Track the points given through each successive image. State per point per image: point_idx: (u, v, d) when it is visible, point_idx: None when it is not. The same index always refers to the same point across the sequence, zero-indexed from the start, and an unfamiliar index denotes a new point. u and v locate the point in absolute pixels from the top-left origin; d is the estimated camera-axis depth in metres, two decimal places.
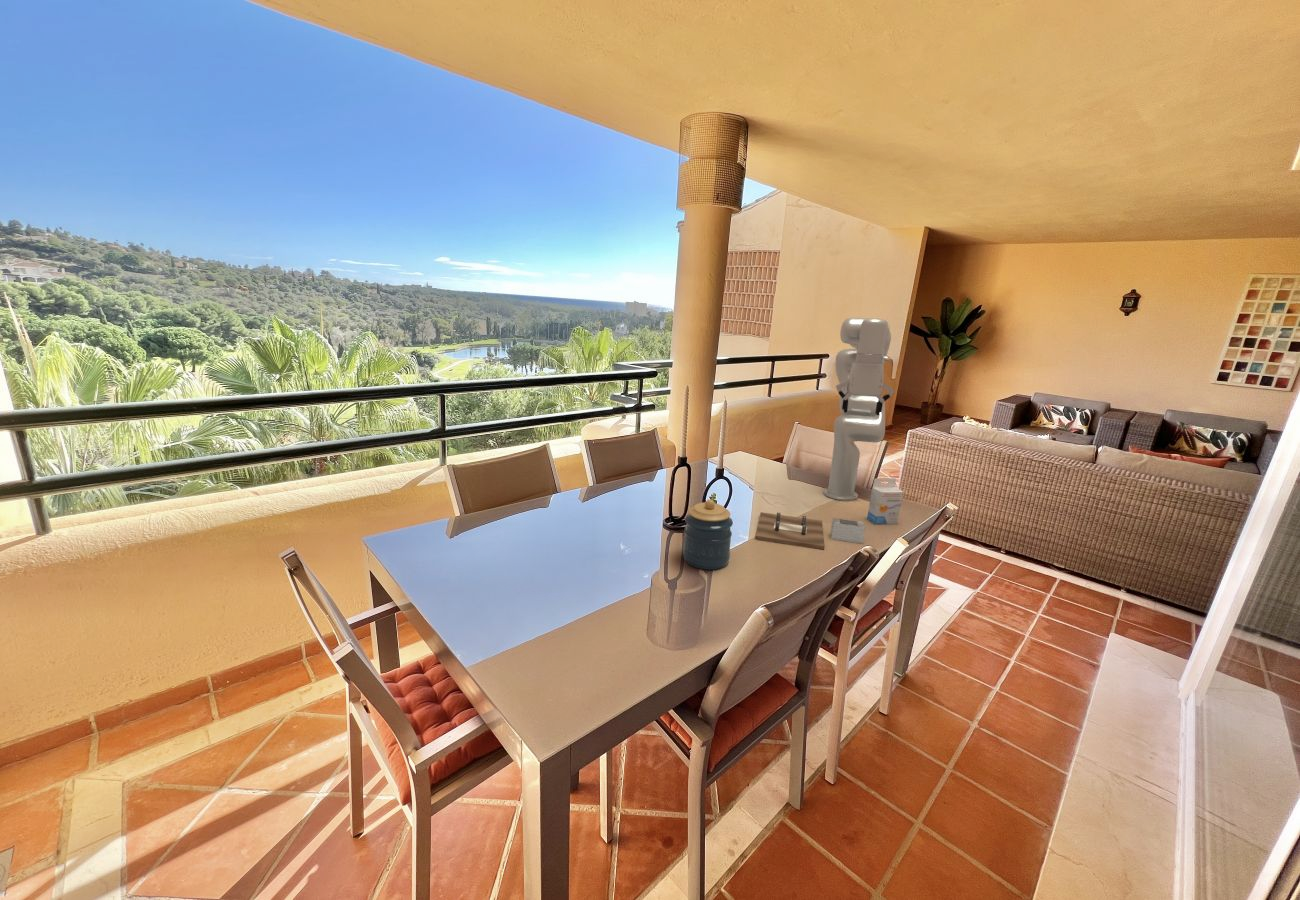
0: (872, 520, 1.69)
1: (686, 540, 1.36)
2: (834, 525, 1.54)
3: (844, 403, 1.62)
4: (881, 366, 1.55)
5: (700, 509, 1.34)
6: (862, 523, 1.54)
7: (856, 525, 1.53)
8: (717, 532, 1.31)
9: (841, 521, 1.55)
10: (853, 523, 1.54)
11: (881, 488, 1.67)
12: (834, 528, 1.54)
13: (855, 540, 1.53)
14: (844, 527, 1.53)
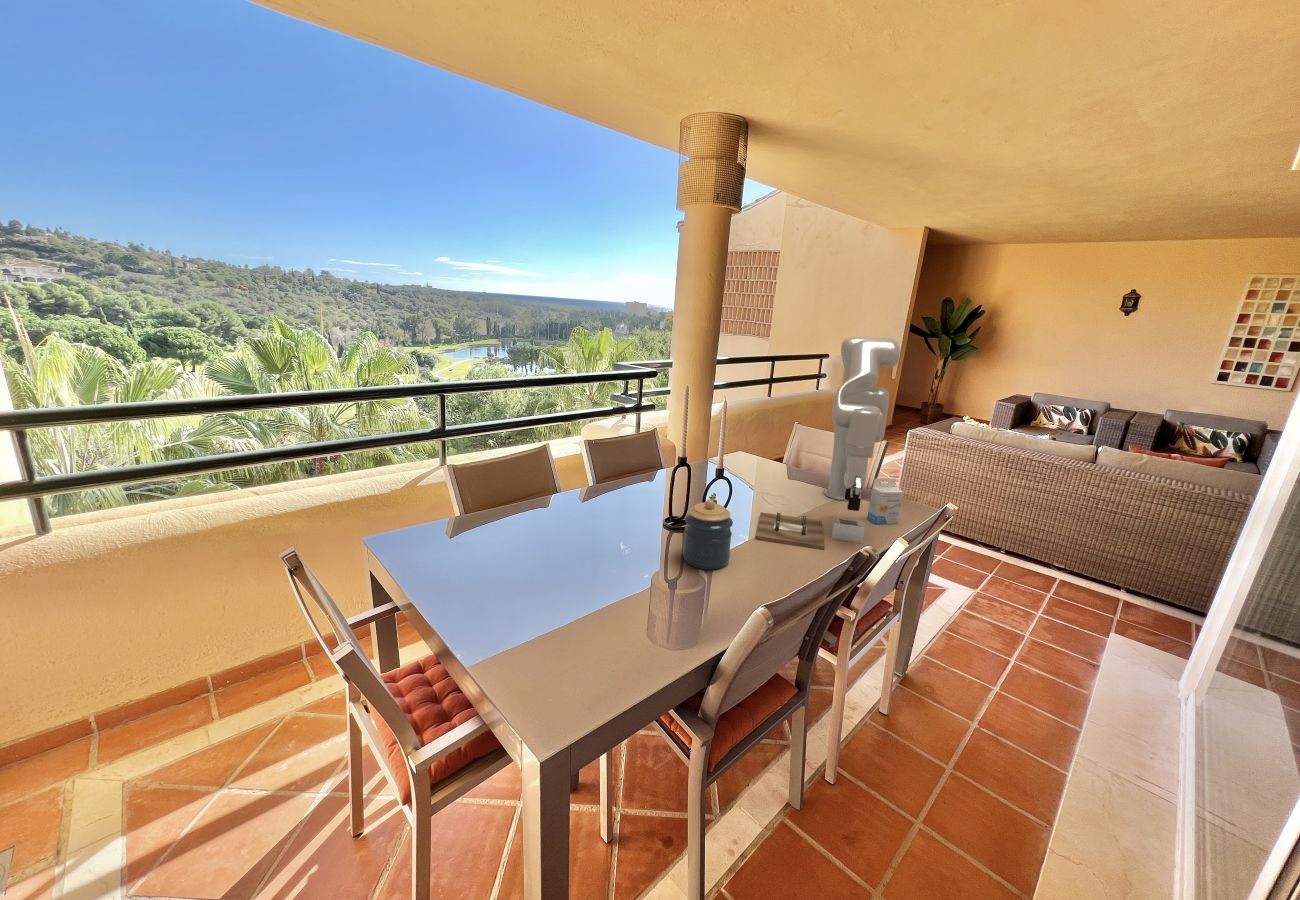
0: (872, 520, 1.69)
1: (686, 540, 1.36)
2: (834, 525, 1.54)
3: (857, 502, 1.46)
4: None
5: (700, 509, 1.34)
6: (862, 523, 1.54)
7: (856, 525, 1.53)
8: (717, 532, 1.31)
9: (841, 521, 1.55)
10: (853, 523, 1.54)
11: (881, 488, 1.67)
12: (834, 528, 1.54)
13: (855, 540, 1.53)
14: (844, 527, 1.53)
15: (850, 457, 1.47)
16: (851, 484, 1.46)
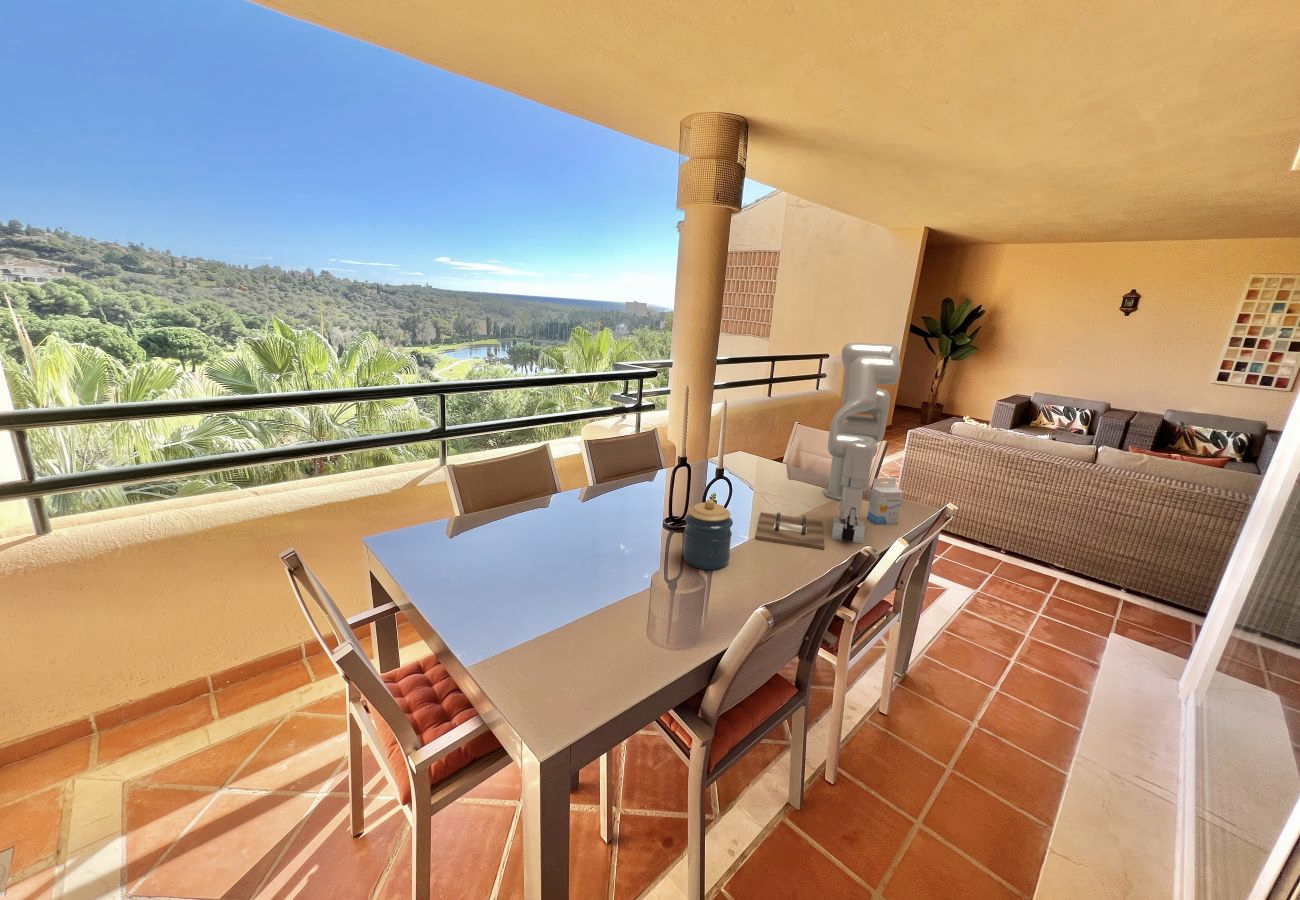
0: (872, 520, 1.69)
1: (686, 540, 1.36)
2: (834, 525, 1.54)
3: (851, 533, 1.52)
4: None
5: (700, 509, 1.34)
6: (862, 523, 1.54)
7: (856, 524, 1.52)
8: (717, 532, 1.31)
9: (841, 521, 1.55)
10: None
11: (881, 488, 1.67)
12: (834, 528, 1.54)
13: (855, 540, 1.53)
14: (844, 526, 1.53)
15: (845, 488, 1.50)
16: (846, 515, 1.49)
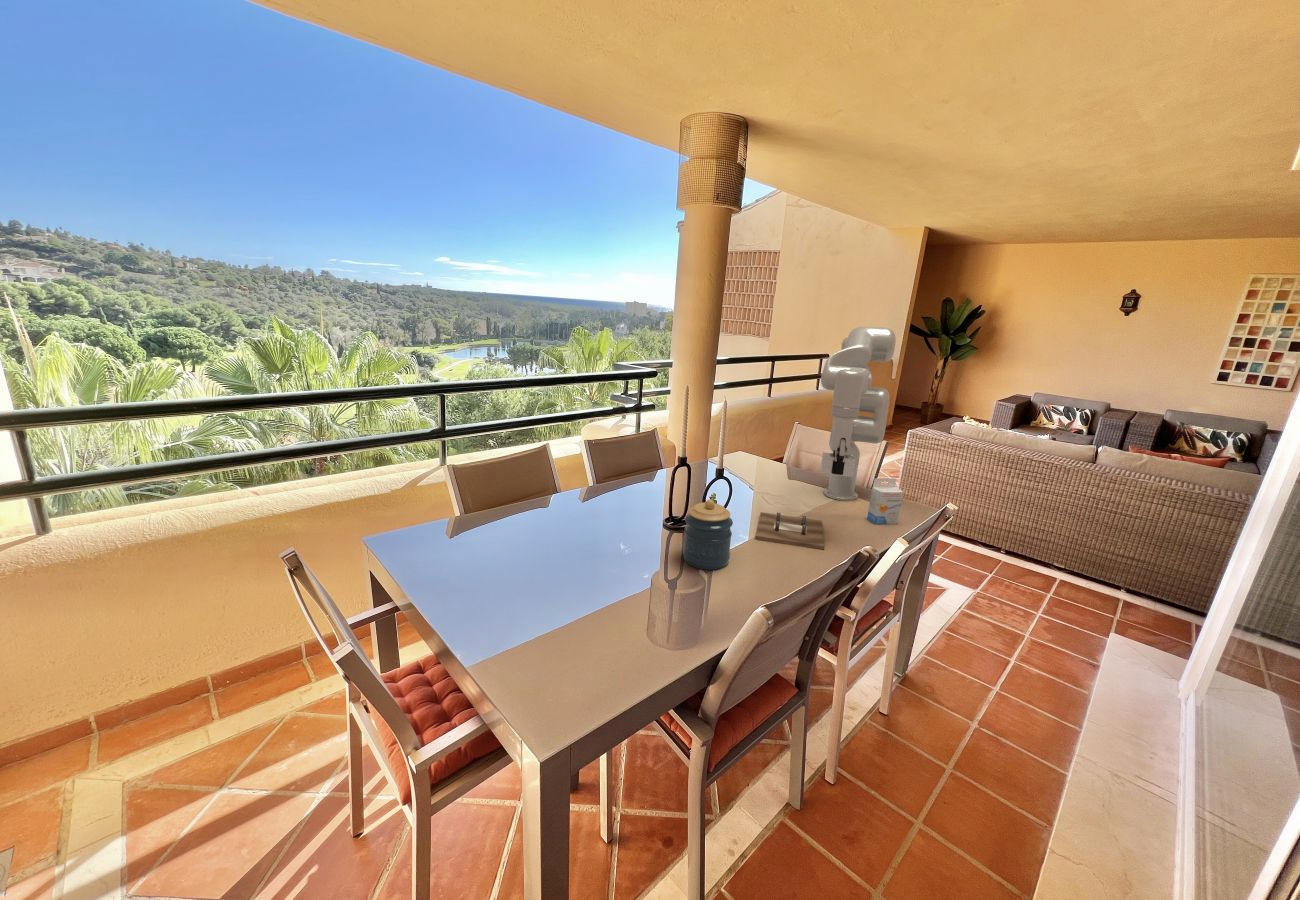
0: (872, 520, 1.69)
1: (686, 540, 1.36)
2: (824, 458, 1.49)
3: (841, 465, 1.48)
4: None
5: (700, 509, 1.34)
6: (853, 456, 1.50)
7: (846, 457, 1.48)
8: (717, 532, 1.31)
9: (831, 454, 1.50)
10: None
11: (881, 488, 1.67)
12: (824, 461, 1.49)
13: (846, 473, 1.49)
14: None
15: (835, 419, 1.45)
16: (836, 446, 1.45)
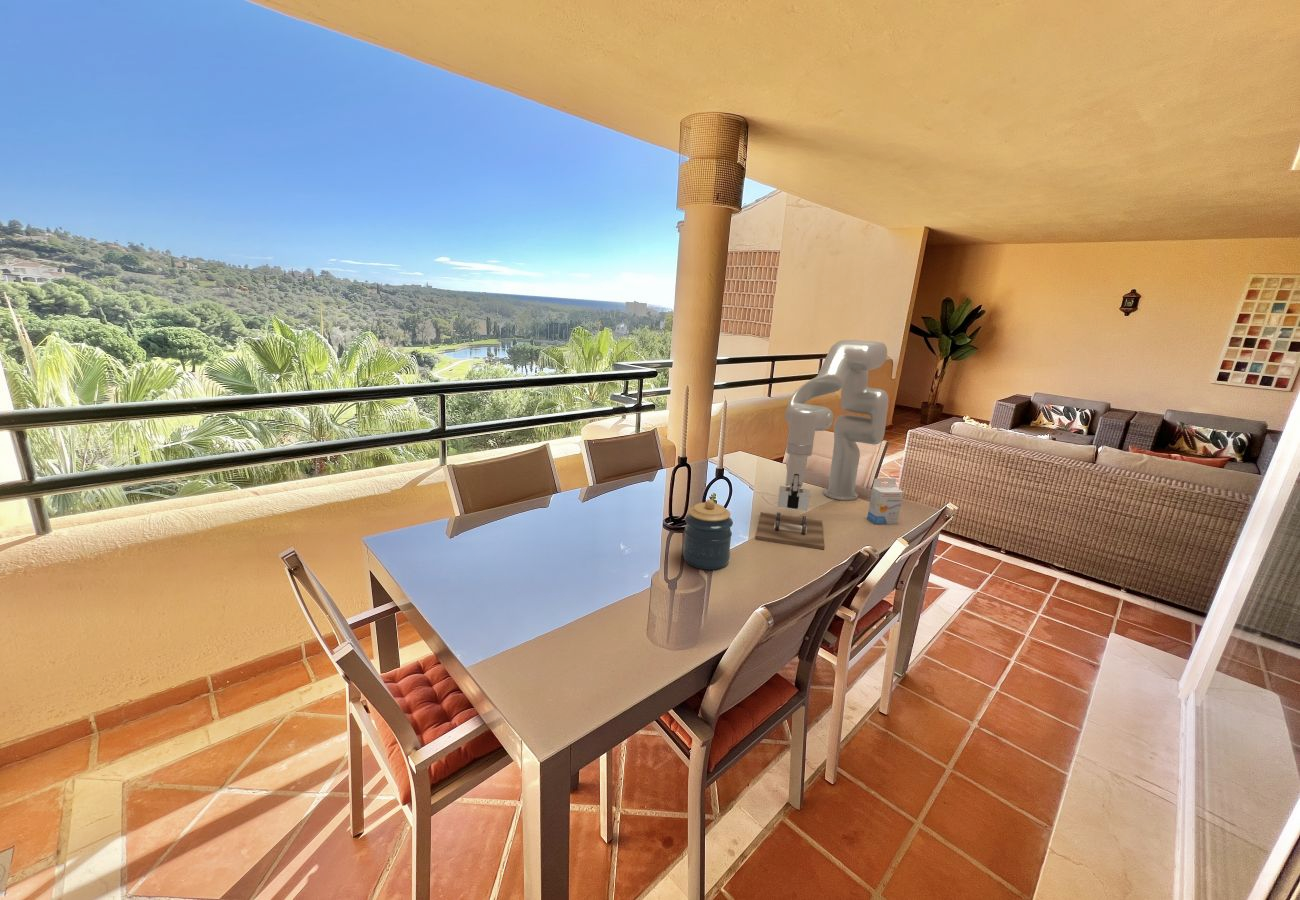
0: (872, 520, 1.69)
1: (686, 540, 1.36)
2: (780, 492, 1.55)
3: (796, 500, 1.53)
4: None
5: (700, 509, 1.34)
6: (808, 491, 1.55)
7: (801, 492, 1.54)
8: (717, 532, 1.31)
9: (787, 489, 1.56)
10: None
11: (881, 488, 1.67)
12: (780, 495, 1.55)
13: (800, 507, 1.54)
14: None
15: (790, 455, 1.51)
16: (790, 481, 1.50)
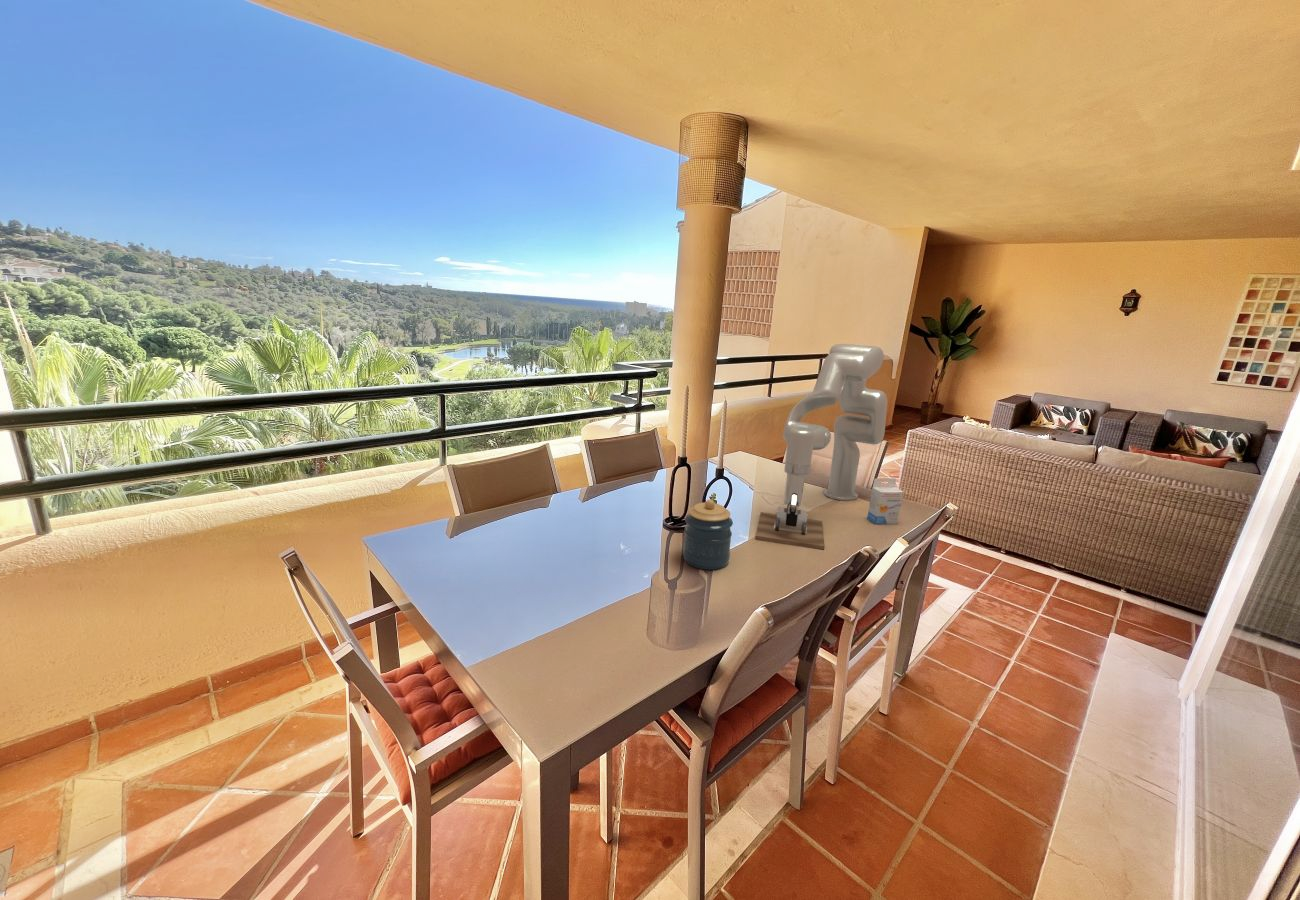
0: (872, 520, 1.69)
1: (686, 540, 1.36)
2: (778, 514, 1.57)
3: (794, 518, 1.53)
4: None
5: (700, 509, 1.34)
6: (805, 512, 1.57)
7: (799, 513, 1.56)
8: (717, 532, 1.31)
9: (785, 510, 1.58)
10: None
11: (881, 488, 1.67)
12: (778, 516, 1.57)
13: (798, 528, 1.56)
14: None
15: (788, 474, 1.53)
16: (788, 501, 1.52)
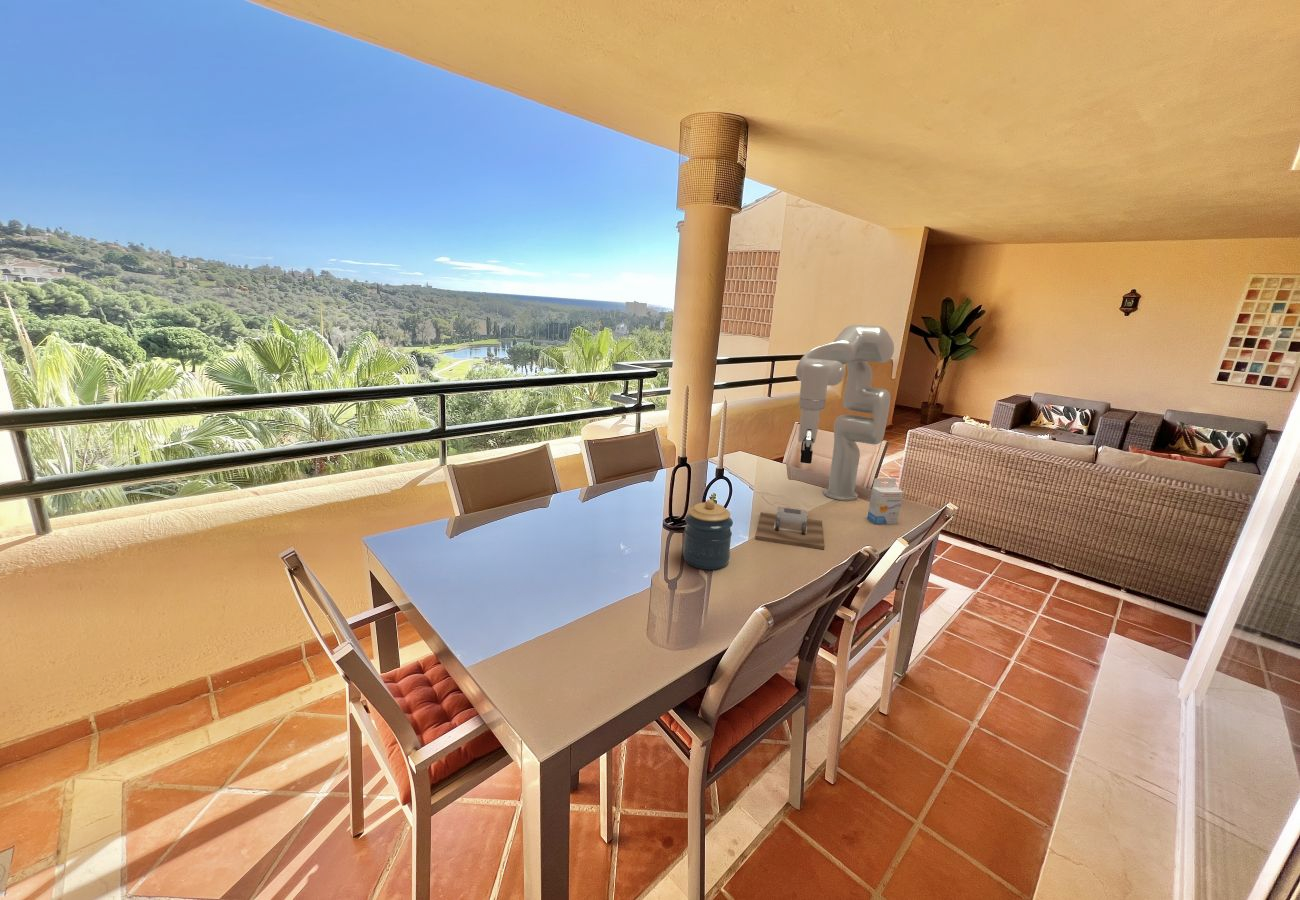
0: (872, 520, 1.69)
1: (686, 540, 1.36)
2: (778, 514, 1.57)
3: (809, 454, 1.49)
4: None
5: (700, 509, 1.34)
6: (805, 512, 1.57)
7: (799, 513, 1.56)
8: (717, 532, 1.31)
9: (785, 510, 1.58)
10: (796, 512, 1.57)
11: (881, 488, 1.67)
12: (778, 516, 1.57)
13: (798, 528, 1.56)
14: (787, 515, 1.56)
15: (802, 411, 1.49)
16: (803, 437, 1.49)
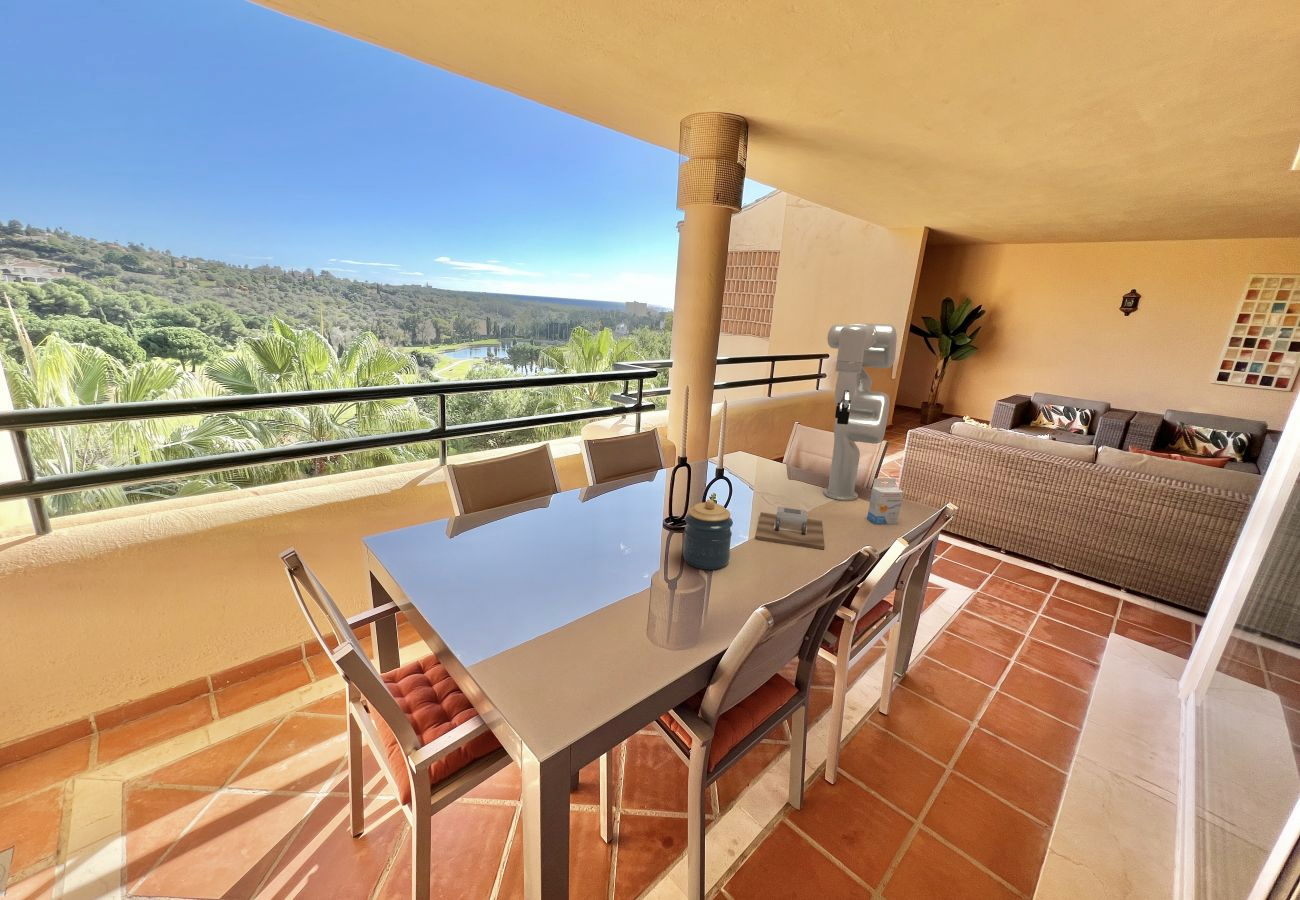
0: (872, 520, 1.69)
1: (686, 540, 1.36)
2: (778, 514, 1.57)
3: (846, 415, 1.54)
4: None
5: (700, 509, 1.34)
6: (805, 512, 1.57)
7: (799, 513, 1.56)
8: (717, 532, 1.31)
9: (785, 510, 1.58)
10: (796, 512, 1.57)
11: (881, 488, 1.67)
12: (778, 516, 1.57)
13: (798, 528, 1.56)
14: (787, 515, 1.56)
15: (839, 373, 1.55)
16: (840, 398, 1.54)
